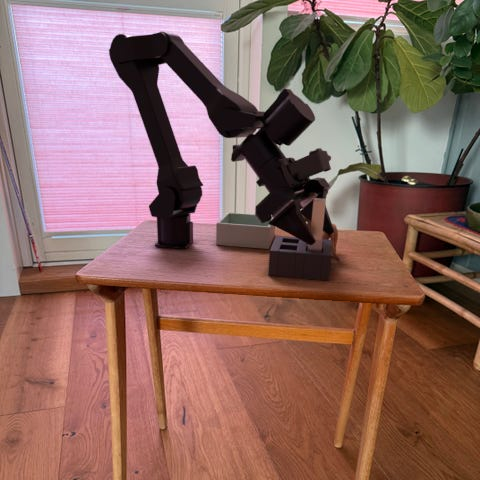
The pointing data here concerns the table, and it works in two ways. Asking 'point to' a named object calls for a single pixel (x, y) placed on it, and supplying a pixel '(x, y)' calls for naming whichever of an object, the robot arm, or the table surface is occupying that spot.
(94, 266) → the table surface
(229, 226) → the tub
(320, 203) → the pink rectangular bar
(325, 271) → the caddy
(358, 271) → the table surface
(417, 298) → the table surface
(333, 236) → the lion figurine
